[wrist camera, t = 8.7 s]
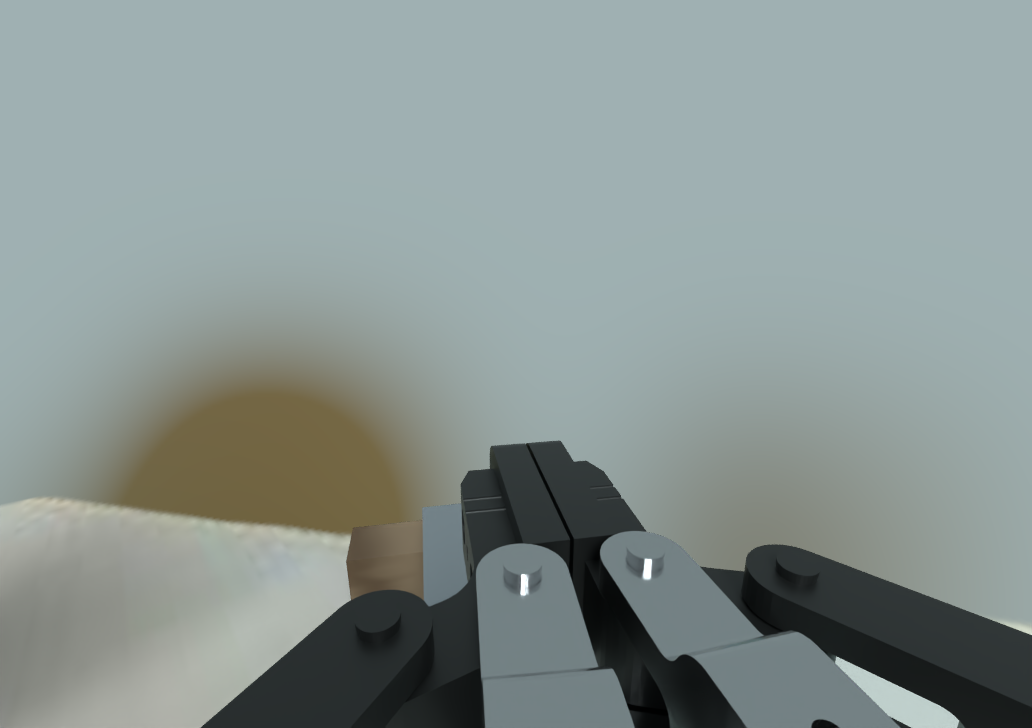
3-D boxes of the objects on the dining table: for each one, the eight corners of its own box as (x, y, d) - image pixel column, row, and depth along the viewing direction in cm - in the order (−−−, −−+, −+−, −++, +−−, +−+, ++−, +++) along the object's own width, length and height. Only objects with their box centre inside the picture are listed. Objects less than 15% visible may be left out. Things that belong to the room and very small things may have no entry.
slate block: (575, 813, 25) (578, 659, 23) (438, 842, 24) (424, 684, 22) (521, 608, 39) (519, 497, 36) (431, 621, 38) (422, 507, 35)
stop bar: (358, 659, 37) (346, 561, 35) (363, 618, 41) (353, 527, 39) (577, 625, 40) (579, 532, 38) (563, 590, 44) (564, 503, 42)
